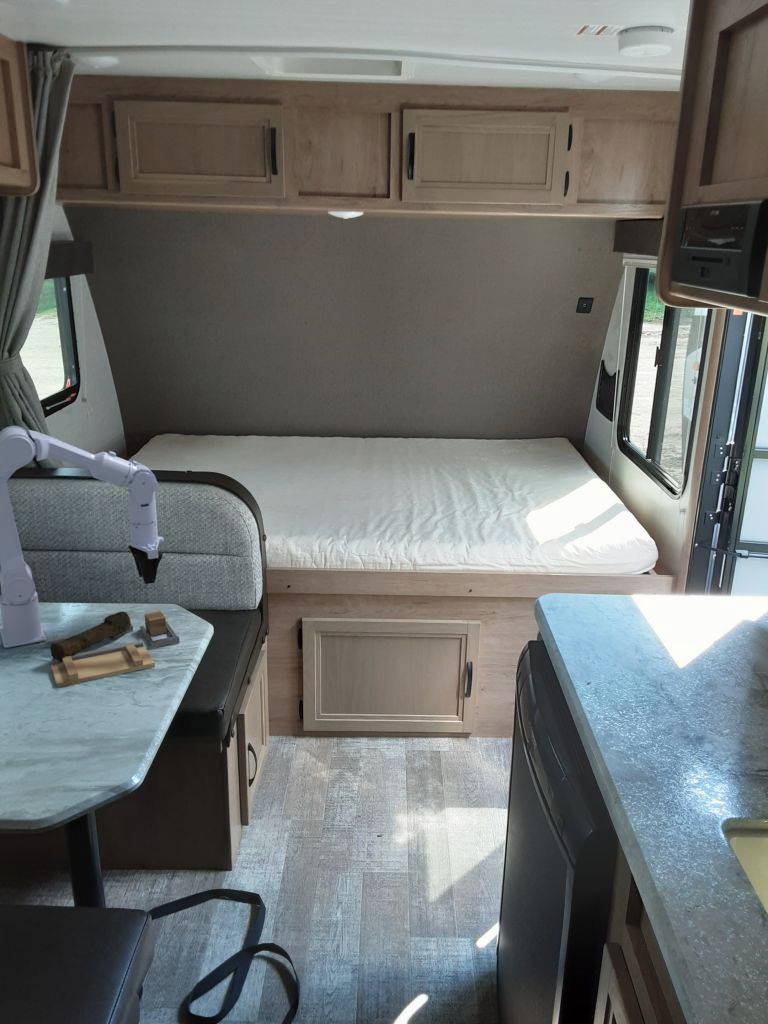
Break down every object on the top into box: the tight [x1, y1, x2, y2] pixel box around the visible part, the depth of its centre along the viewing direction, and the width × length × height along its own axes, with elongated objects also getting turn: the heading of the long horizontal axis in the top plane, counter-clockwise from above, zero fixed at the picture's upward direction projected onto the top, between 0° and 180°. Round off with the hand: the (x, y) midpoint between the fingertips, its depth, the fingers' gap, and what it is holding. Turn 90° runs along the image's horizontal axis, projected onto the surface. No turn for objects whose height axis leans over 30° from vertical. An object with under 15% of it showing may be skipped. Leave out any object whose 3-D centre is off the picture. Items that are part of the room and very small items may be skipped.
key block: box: [144, 610, 167, 637], centre depth 172 cm, size 4×3×4 cm
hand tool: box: [49, 611, 132, 662], centre depth 164 cm, size 19×4×5 cm, turn 148°
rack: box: [50, 642, 156, 688], centre depth 156 cm, size 8×18×2 cm, turn 120°
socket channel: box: [44, 623, 144, 665], centre depth 165 cm, size 10×18×1 cm, turn 120°
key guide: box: [139, 621, 181, 649], centre depth 170 cm, size 10×6×1 cm, turn 30°
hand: (147, 579), depth 177 cm, fingers open, 4 cm apart
